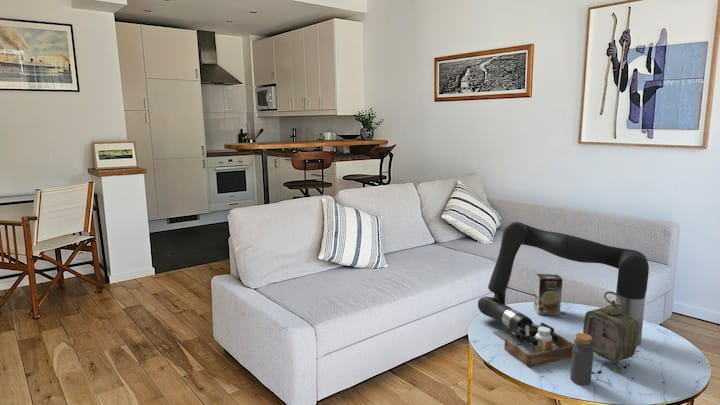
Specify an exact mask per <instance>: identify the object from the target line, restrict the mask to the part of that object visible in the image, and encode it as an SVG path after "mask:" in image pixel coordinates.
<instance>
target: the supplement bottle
mask: <svg viewBox="0 0 720 405" xmlns="http://www.w3.org/2000/svg"><path fill="white" fill-rule="evenodd" d="M534 337H535V339H537V340H538V346H534V353H539V352H543V351H548V350H552V349H553V348H552V345H553V344H552V336H551V335H550V329H549V328H547V327H539V328H538V333H537V334H536V336H534Z"/></svg>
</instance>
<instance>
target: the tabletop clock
mask: <svg viewBox="0 0 720 405" xmlns="http://www.w3.org/2000/svg"><path fill="white" fill-rule="evenodd" d="M608 294H610V295H611V294H612V295H614V296H615V297H616V296H618V297H619V298H620V299H621V301H622V304H615V301H616V300H611V301H610V299H608V298H607V295H608ZM603 297H604V299H605V301H606V302H607V303H608V305H606V306H605V307H599V308H597V309H596V308H595V309H591V310H587V311H586V313H585V315H584V320H583V326H582V328H583V332H582V333H585V334H588V335H590V336H591V337H592V341H591V342H592V347H591V349H592V350H593V354H596V355H598V356H599V357H601V358H603V359H606V360H608V361H610V362H614V363H616V364H615V365H616V367H614V371H615V372H616V373H619V372H621V368H620V367H619V364H620V363H619V362H620V361H624V360H626V359H630V358H633V357H634V355H635V353H636V351H637V346H638V344H637V342H638V323H637V321H636V320H635V319H633V318H632V317H629V316H627V315H625V314H623V313H621V310H620V308H619V307H618V306H621V305H623V299H622V297H621V296H620V295H618V294H617V293H616V292H614V291H606V292H605V293H604V295H603Z"/></svg>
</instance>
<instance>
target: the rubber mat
mask: <svg viewBox="0 0 720 405" xmlns="http://www.w3.org/2000/svg"><path fill="white" fill-rule="evenodd" d="M491 333H493V334H494V335H495V336H497V337H499V338H500V339H501V340H503V341H504V342H505V339H508V340H510V341H511V342H513V343H514V344H516V345H517V346H520V345H525V344H528V343H529V342H526V341H524V342H520V341H519V340H518V339H516V338H515V337H514V336H512V331H511V330H510V329H508V328H504V329H498V330H494V331H492V332H491ZM535 337H536V336H534V338H535ZM529 344H530V343H529Z"/></svg>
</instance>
